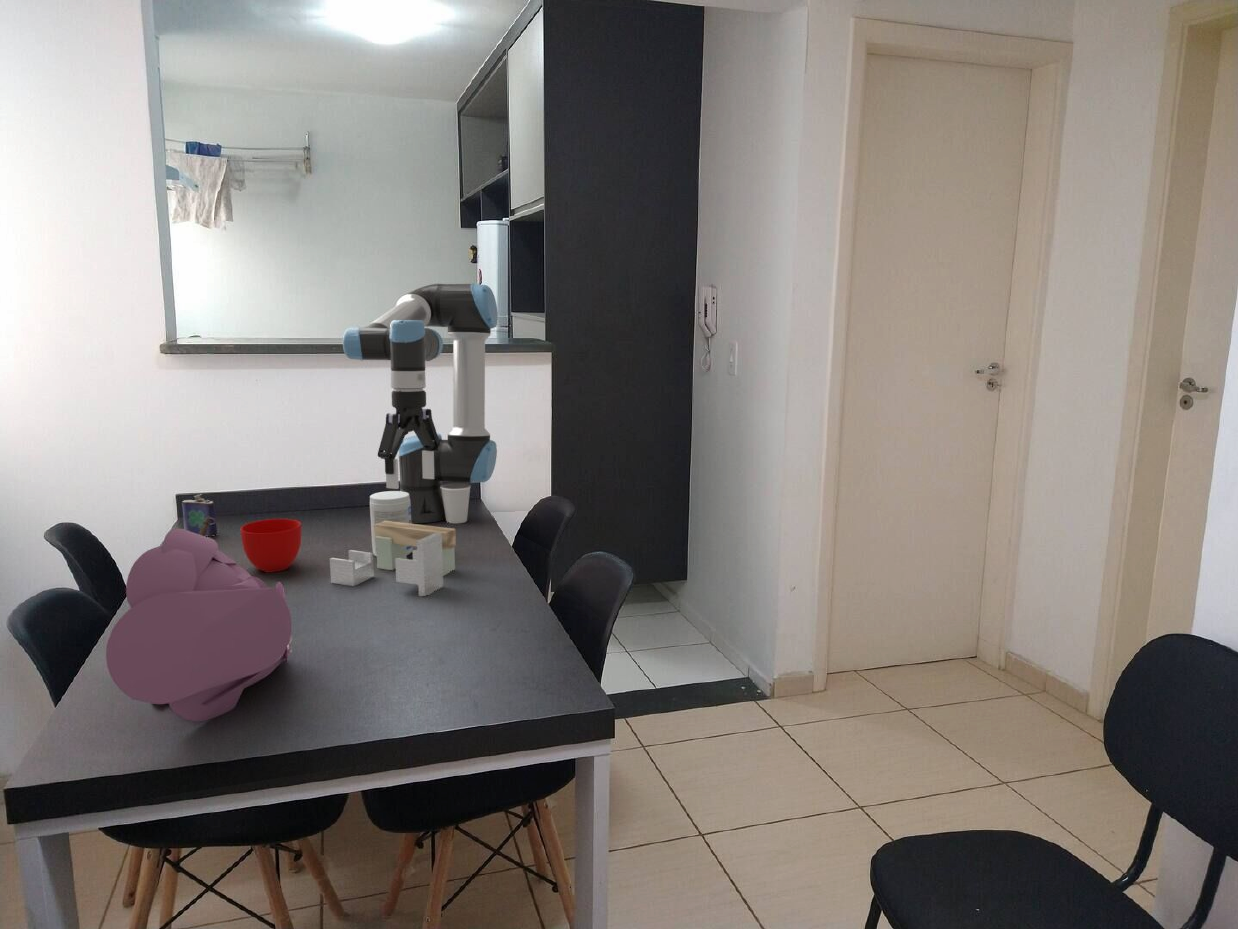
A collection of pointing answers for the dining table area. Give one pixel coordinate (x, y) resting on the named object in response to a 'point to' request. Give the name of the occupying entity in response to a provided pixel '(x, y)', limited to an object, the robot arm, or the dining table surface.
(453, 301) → the robot arm
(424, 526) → the rail
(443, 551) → the rack
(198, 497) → the flask
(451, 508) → the dixie cup
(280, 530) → the ceramic cup
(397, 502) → the supplement tub
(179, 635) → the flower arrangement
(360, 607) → the dining table surface
